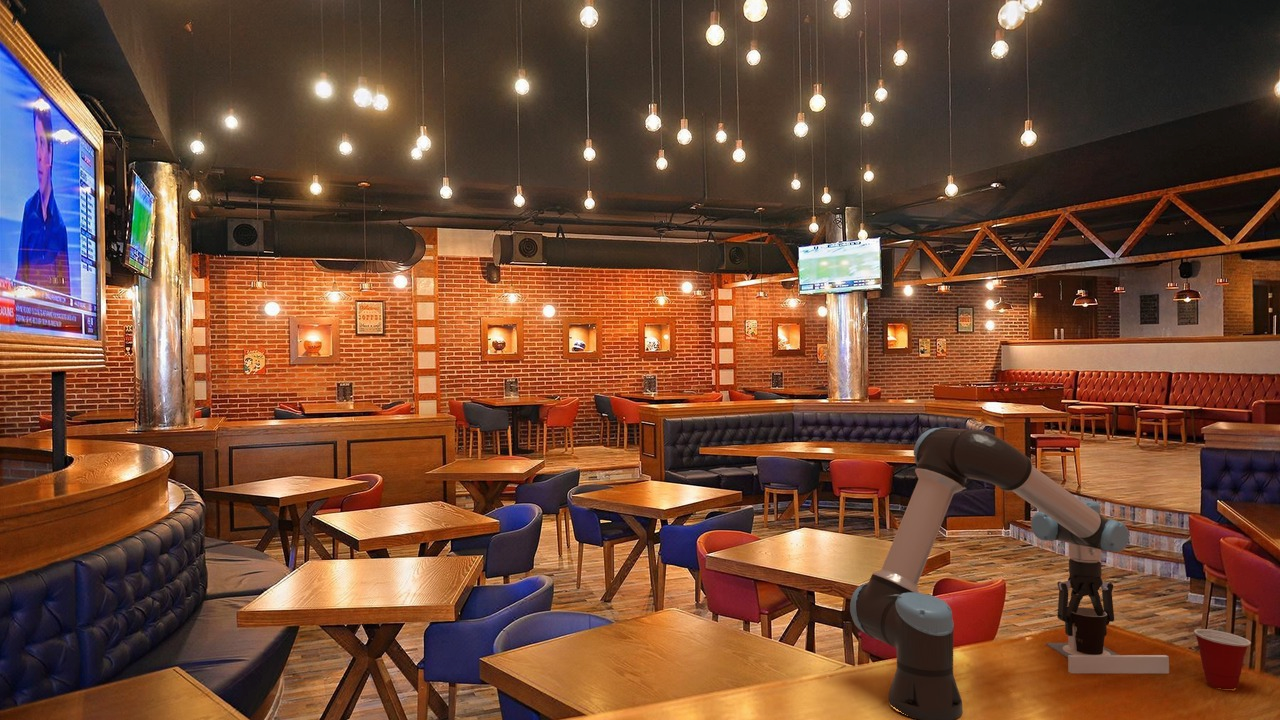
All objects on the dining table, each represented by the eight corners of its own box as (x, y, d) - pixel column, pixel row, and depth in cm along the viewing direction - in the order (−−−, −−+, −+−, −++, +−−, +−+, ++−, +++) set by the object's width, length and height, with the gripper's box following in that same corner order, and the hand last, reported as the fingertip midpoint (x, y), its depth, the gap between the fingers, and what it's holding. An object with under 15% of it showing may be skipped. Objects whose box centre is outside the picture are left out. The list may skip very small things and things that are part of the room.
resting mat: (1074, 662, 202) (1074, 660, 202) (1046, 644, 216) (1046, 642, 216) (1129, 662, 202) (1129, 660, 202) (1097, 644, 216) (1097, 642, 216)
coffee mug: (1107, 658, 202) (1106, 618, 202) (1068, 652, 206) (1068, 613, 207) (1108, 645, 212) (1107, 607, 212) (1071, 640, 216) (1071, 602, 217)
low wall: (1071, 673, 194) (1070, 656, 195) (1068, 671, 196) (1068, 655, 196) (1169, 673, 195) (1168, 656, 195) (1165, 671, 196) (1165, 655, 196)
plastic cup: (1262, 697, 180) (1261, 643, 180) (1208, 693, 182) (1207, 640, 182) (1236, 679, 190) (1235, 629, 191) (1186, 676, 193) (1185, 626, 193)
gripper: (1055, 562, 206) (1056, 652, 205) (1130, 562, 206) (1131, 653, 205) (1041, 556, 213) (1042, 643, 213) (1112, 556, 214) (1114, 643, 213)
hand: (1086, 647), depth 209 cm, fingers closed on coffee mug, 6 cm apart
